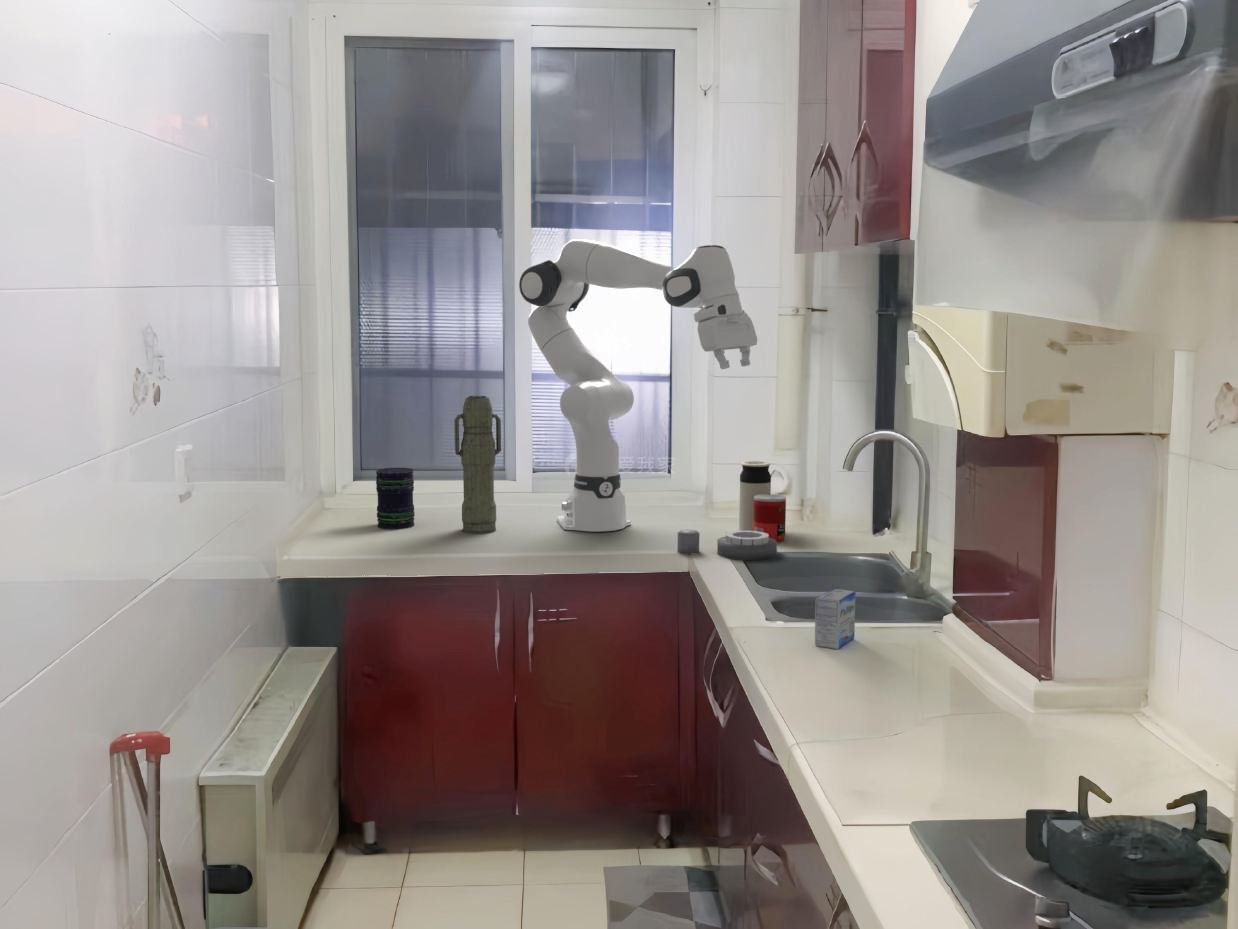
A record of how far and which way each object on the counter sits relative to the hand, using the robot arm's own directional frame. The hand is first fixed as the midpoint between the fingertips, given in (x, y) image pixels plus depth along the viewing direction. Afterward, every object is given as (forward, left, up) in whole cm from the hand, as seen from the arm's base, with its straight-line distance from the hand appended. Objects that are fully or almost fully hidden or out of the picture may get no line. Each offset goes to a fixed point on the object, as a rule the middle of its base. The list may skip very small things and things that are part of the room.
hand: (735, 367), depth 270 cm
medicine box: (+78, -22, -44) cm, 92 cm away
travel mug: (-14, +14, -44) cm, 48 cm away
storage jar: (-56, -71, -44) cm, 101 cm away
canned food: (-3, +12, -44) cm, 45 cm away
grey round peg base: (+9, -1, -44) cm, 45 cm away
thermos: (-42, -52, -44) cm, 80 cm away
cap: (+2, -13, -44) cm, 46 cm away
